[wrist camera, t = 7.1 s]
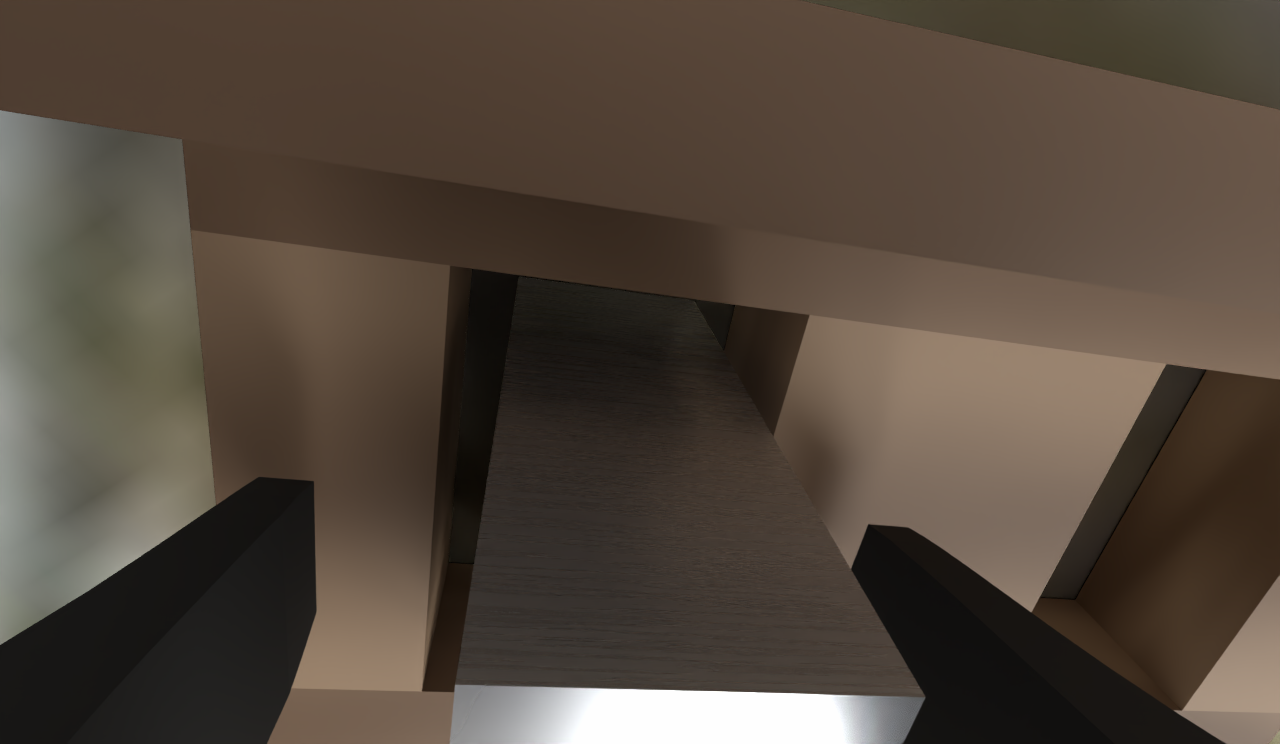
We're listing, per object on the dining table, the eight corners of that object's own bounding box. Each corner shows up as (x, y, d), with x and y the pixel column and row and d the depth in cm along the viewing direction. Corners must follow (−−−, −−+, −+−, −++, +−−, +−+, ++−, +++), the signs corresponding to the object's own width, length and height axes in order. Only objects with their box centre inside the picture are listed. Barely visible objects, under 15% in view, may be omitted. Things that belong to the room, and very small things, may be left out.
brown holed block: (1142, 650, 17) (1417, 926, 12) (302, 612, 13) (133, 988, 8) (1437, 196, 12) (2119, 301, 7) (281, -47, 9) (-156, -218, 3)
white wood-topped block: (632, 577, 14) (715, 1123, 7) (486, 569, 13) (411, 1152, 6) (693, 300, 12) (925, 696, 4) (519, 276, 11) (455, 686, 4)
